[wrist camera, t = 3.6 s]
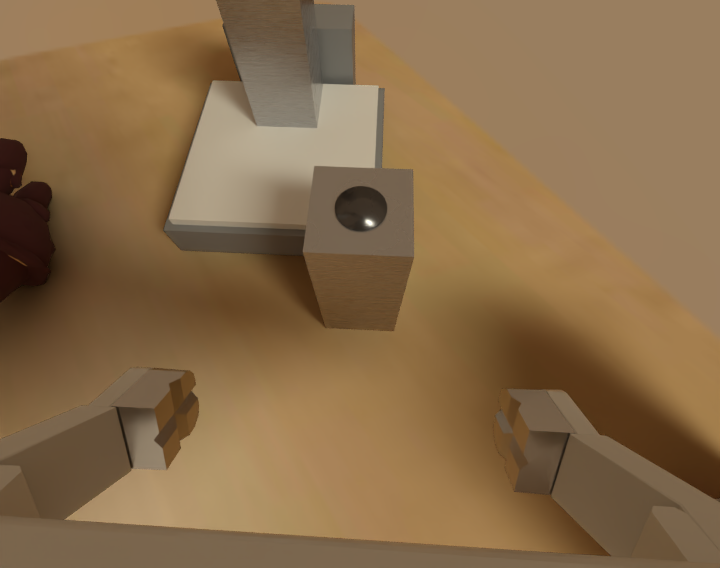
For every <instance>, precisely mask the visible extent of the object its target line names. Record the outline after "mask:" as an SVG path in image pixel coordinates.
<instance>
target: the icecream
mask: <svg viewBox="0 0 720 568" xmlns="http://www.w3.org/2000/svg"><path fill="white" fill-rule="evenodd" d="M26 162H27V153H26V151H25V149H24V146H23V144H22V143H20V142H19V141H16V140H10V139H3V138H1V139H0V302H2V301H3V300H4V299H5V298H6V297H8V296H9V295H10V294H11V293H12V292H13V291H15V290H16V289H17V288H18V287H19V286H21V285H28V286H38V285H42V284H44V283H45V282H46V280H47V277H48V274H49V273H50V272H51V270H50V269H49V268H48V267H47V266H48V265H49V262H50V258H51V255H52V254H53V253H54V251H55V246H54V244H53V243H52V241H51V239H50V234H49V229H48V225H47V222H48V221H49V219H50V212H49V211H48V210H47V207H48V205H49V203H50V200H51V198H52V191H51V188H50V187H49V186H48V185H47V184H46V183H44V182H30V183H29V184H27V185H26V186H24V187H23V188H21V189H20V190H18V191H17V192H16V193H15V194H14V196H11V195H10V194H11V193H12V192H13V190H14V188H19V187H20V186H22V182H21V180H22V175H23V172H24V169H25V166H26Z"/></svg>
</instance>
